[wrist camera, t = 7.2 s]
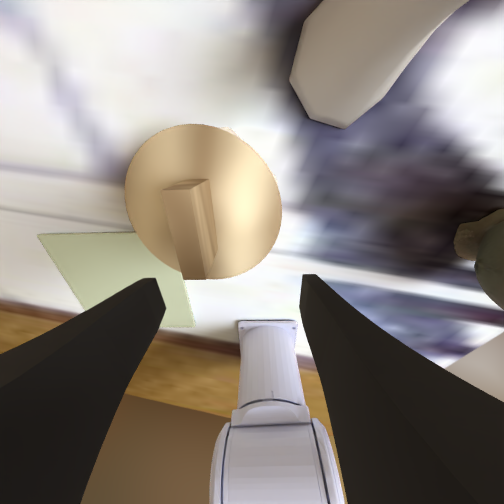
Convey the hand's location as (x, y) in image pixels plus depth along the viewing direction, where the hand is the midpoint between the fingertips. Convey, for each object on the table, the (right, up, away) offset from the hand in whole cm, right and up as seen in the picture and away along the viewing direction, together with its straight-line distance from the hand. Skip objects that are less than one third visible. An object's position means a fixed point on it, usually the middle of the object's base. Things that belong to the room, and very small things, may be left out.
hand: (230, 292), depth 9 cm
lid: (-2, +5, +5) cm, 7 cm away
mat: (-14, -2, +13) cm, 19 cm away
